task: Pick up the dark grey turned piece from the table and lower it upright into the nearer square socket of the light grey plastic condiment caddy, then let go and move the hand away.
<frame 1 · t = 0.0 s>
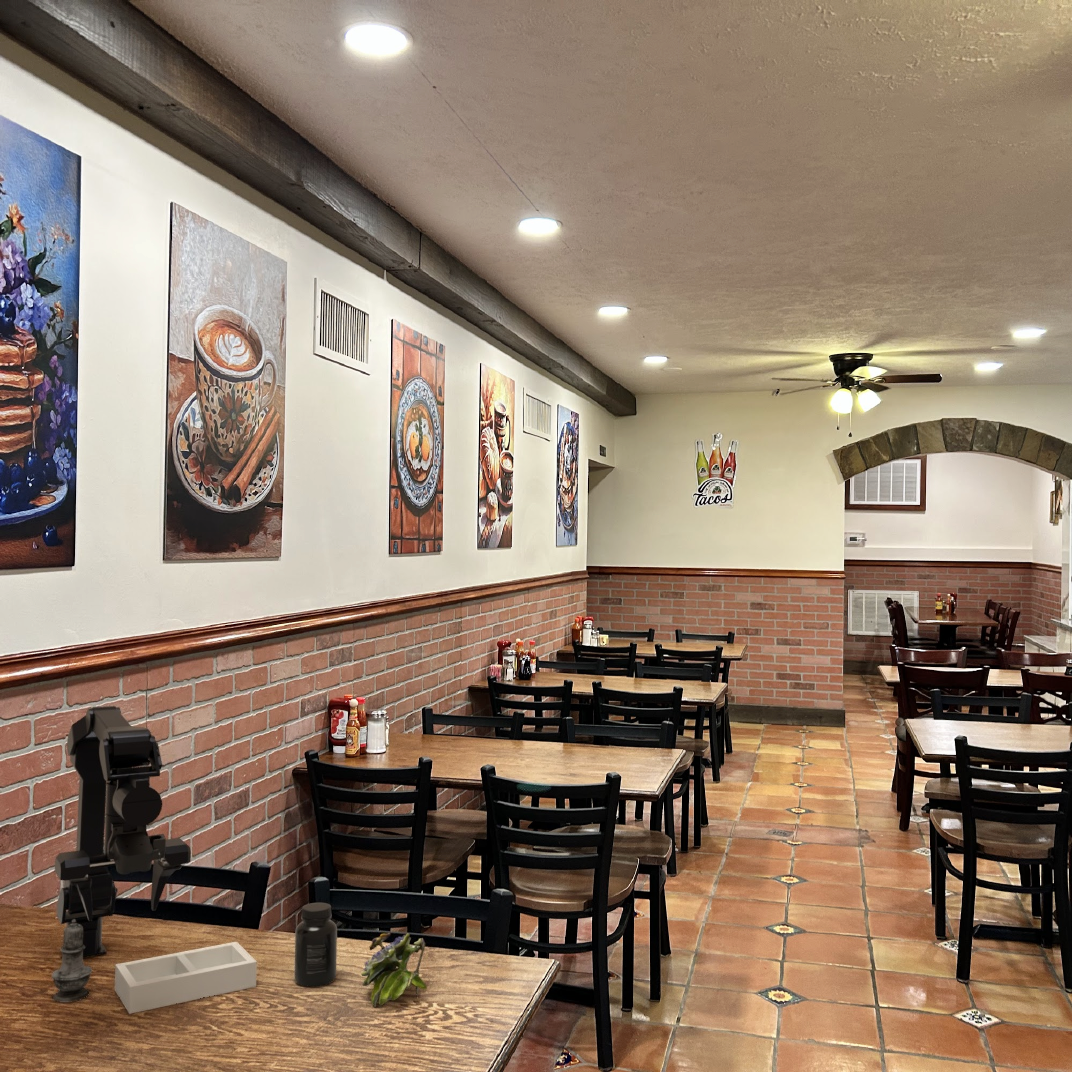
hand: (122, 915, 156), 15 cm above the table, tool pointing down, fingers open, 9 cm apart
dark grey turned piece: (71, 996, 161), on the table
supplement bottle: (315, 981, 169), on the table
passion flower: (396, 995, 164), on the table
condiment caddy: (185, 988, 164), on the table
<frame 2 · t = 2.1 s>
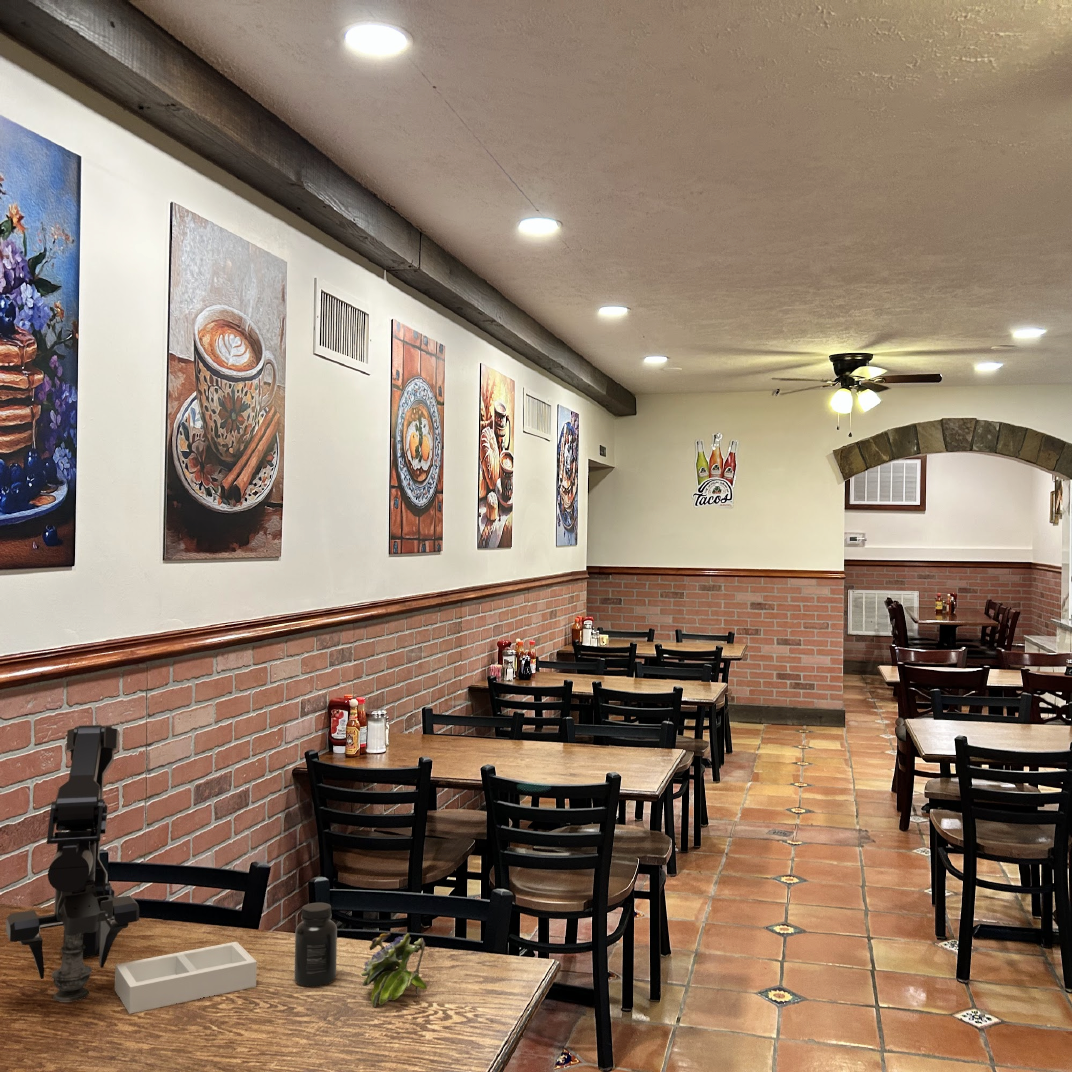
hand: (72, 972, 161), 4 cm above the table, tool pointing down, fingers closed on dark grey turned piece, 8 cm apart
dark grey turned piece: (71, 996, 161), on the table, touching gripper
everything else where it was.
when the fingers open (6 cm above the table, at t = 7.7 s): dark grey turned piece drops 1 cm, resting on condiment caddy.
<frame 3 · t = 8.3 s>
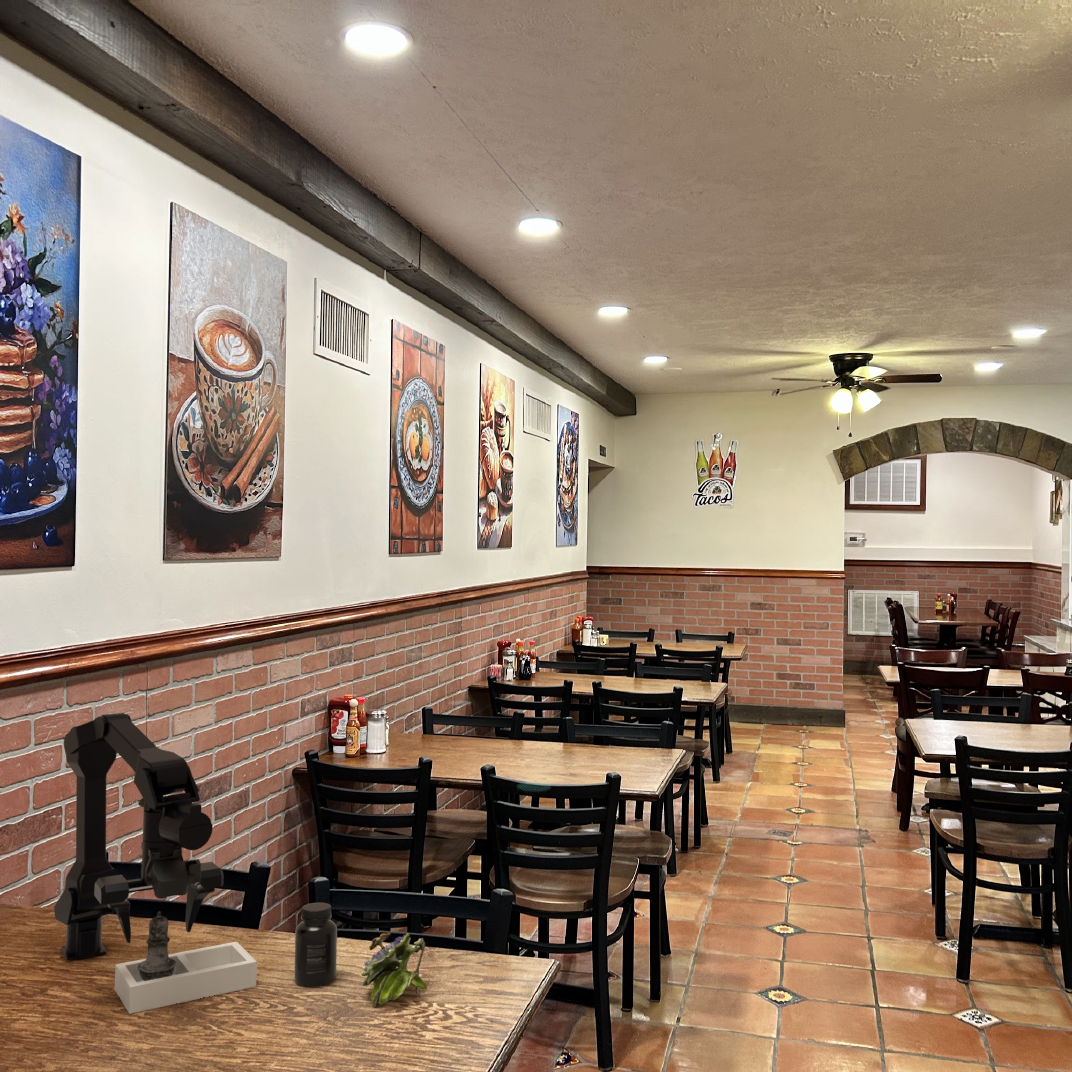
hand: (158, 936, 162), 9 cm above the table, tool pointing down, fingers open, 9 cm apart
dark grey turned piece: (156, 988, 162), point 1 cm above the table, touching condiment caddy
everything else where it was.
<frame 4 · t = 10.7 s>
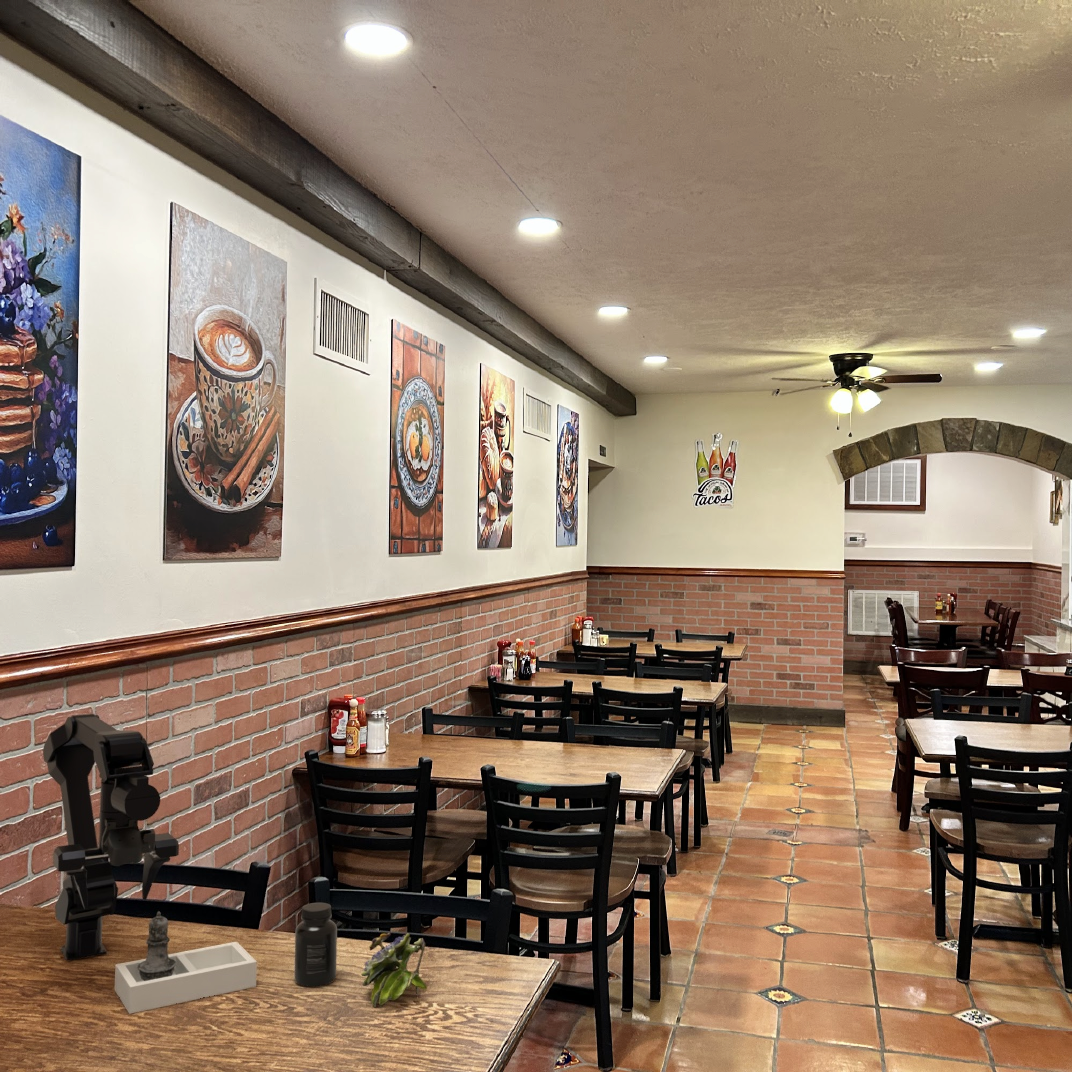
hand: (115, 903, 169), 12 cm above the table, tool pointing down, fingers open, 9 cm apart
nothing on the table moved.
at the end: dark grey turned piece 0.2 cm from the target spot on the condiment caddy, point 0.8 cm above the condiment caddy's base; dark grey turned piece tilted 0°; the gripper is holding nothing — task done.
